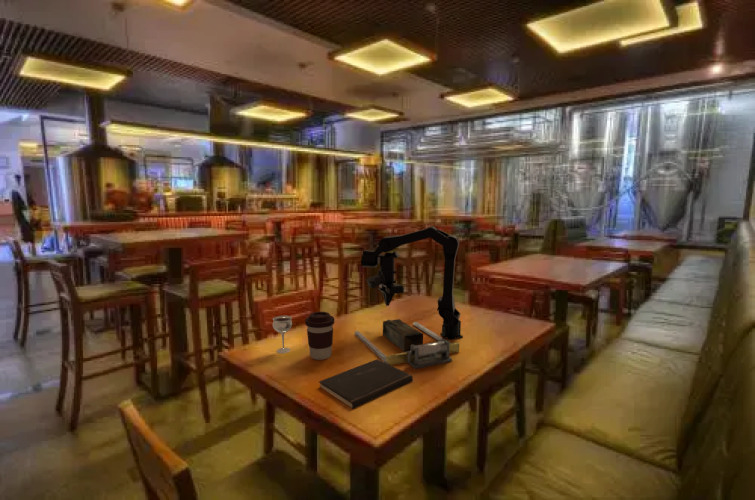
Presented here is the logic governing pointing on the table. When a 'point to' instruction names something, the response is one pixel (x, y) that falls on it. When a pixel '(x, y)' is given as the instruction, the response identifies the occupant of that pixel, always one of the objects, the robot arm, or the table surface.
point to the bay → (402, 356)
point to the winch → (428, 354)
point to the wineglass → (282, 329)
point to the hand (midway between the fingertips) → (387, 305)
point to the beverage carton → (402, 334)
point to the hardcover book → (365, 382)
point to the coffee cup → (320, 334)
